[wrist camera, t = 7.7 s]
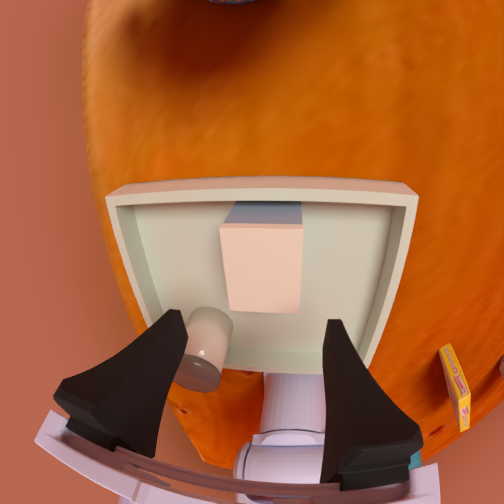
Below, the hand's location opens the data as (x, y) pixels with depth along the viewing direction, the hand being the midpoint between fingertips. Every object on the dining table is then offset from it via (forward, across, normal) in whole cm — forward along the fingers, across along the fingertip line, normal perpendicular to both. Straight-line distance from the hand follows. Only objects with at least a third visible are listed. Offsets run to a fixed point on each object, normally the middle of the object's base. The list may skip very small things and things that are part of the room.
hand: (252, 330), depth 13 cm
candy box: (+10, -26, +20) cm, 35 cm away
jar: (+9, +6, +10) cm, 15 cm away
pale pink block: (+9, 0, 0) cm, 9 cm away
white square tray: (+10, +1, +4) cm, 11 cm away
